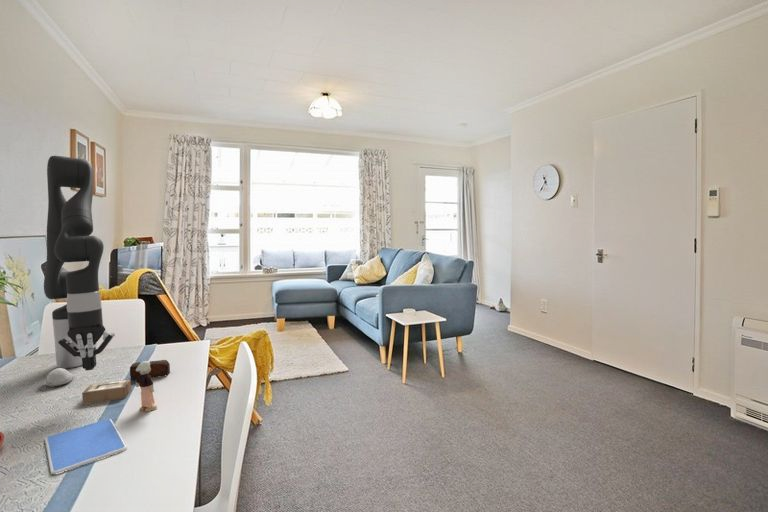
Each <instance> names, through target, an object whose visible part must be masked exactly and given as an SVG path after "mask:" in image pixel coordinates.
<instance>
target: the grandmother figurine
mask: <svg viewBox="0 0 768 512" xmlns="http://www.w3.org/2000/svg"><path fill="white" fill-rule="evenodd" d="M140 362H141V363H140V364H139V365H138V367H137V369H136V371H137V372H138V371H139V372H140V374H141V375H140V376H138V378H137V379H136V380H135V387H136V388H138V387H140V396H141V397H140V398H141V400H140V402H141V403H140V405H141V406H140V407H139V410H140V411H144V412H145V413H147V411H148V412H152V411H155V410H157V409H158V407H157V405H155V402H156V401H155V396H154V392H155V389H154V387H155V386H154V382H153V378H151V376H150V375H149V374H148V373H149V372H150V371H151V368H150V361H148V360H143V361H140ZM156 408H157V409H156ZM144 409H145V410H144ZM154 409H155V410H154ZM151 410H152V411H151Z"/></svg>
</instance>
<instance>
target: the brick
mask: <svg viewBox="0 0 768 512" xmlns="http://www.w3.org/2000/svg"><path fill="white" fill-rule="evenodd" d="M141 362H142V361H140V362H134V363H132V364H131V365H130V367H129V376H130V379H131V381H136V379H137V378H138V376H140V375H141V374H140V372H139V371H138V372H137V371H136V369H137V367H138V365H139V364H140V363H141ZM149 362H150V368H151V371H150V372H149V373H148V374H149V375H150V376H151V378H152V379H154V378H159V377H158V376H162V377H166V376H165V375H167V376H168V374H170V372H171V365H170V362H169V361H168V360H167V359H159V360H152V361H151V360H150V361H149ZM153 377H154V378H153Z"/></svg>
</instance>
